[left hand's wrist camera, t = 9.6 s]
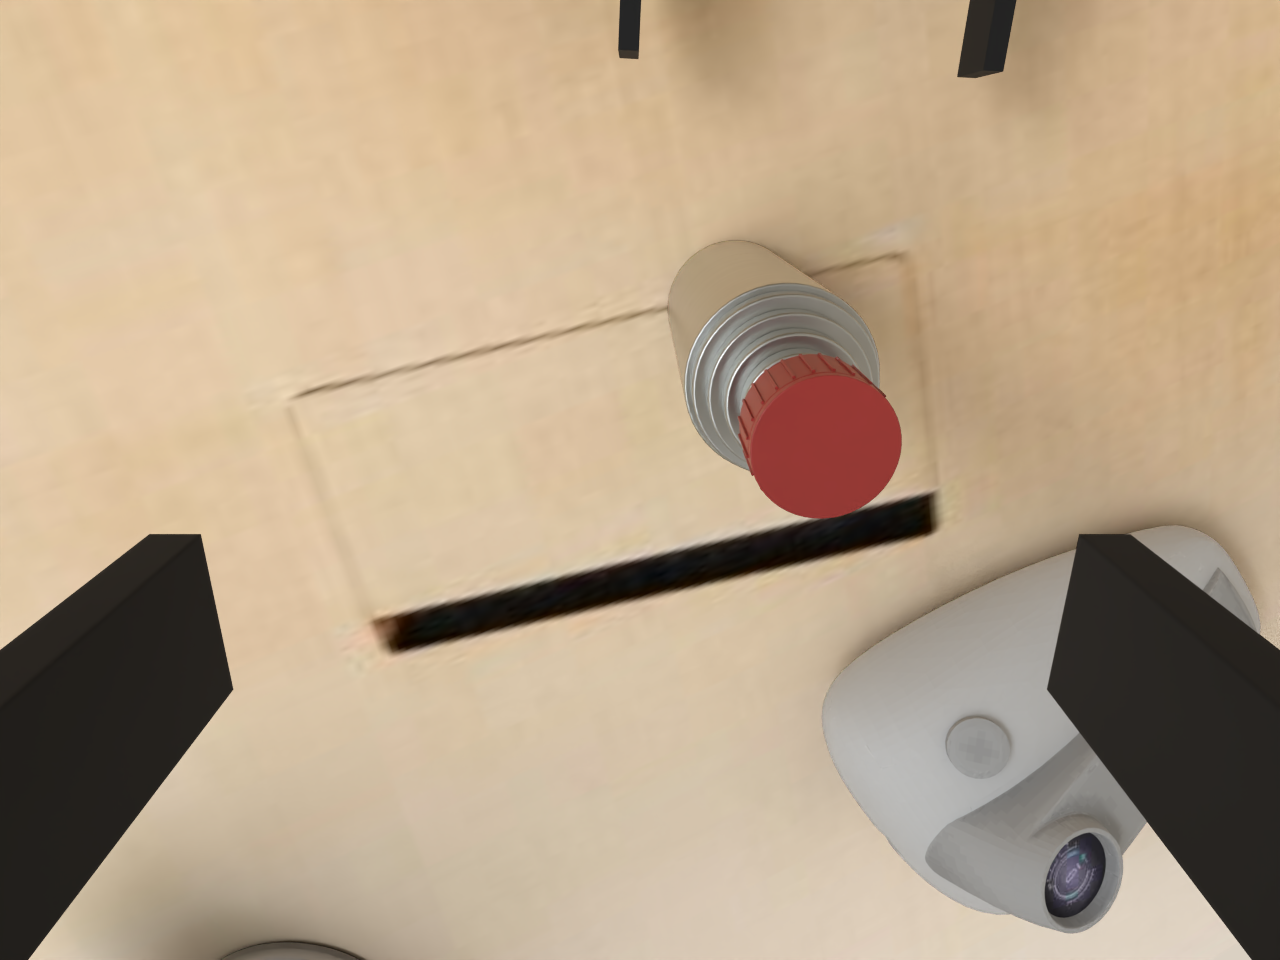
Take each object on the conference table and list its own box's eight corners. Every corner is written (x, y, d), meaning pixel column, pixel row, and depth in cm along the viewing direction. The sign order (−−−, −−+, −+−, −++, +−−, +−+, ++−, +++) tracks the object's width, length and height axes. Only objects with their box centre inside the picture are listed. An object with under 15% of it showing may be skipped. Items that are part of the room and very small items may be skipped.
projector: (1135, 838, 54) (1307, 1070, 40) (781, 813, 53) (832, 1042, 39) (1258, 522, 46) (1524, 677, 32) (844, 487, 45) (936, 631, 31)
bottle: (821, 326, 42) (990, 478, 22) (710, 395, 43) (776, 597, 23) (756, 213, 40) (876, 266, 20) (642, 288, 41) (649, 409, 21)
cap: (901, 440, 24) (930, 470, 21) (780, 510, 25) (795, 546, 22) (835, 323, 23) (858, 342, 20) (710, 401, 23) (719, 427, 21)
